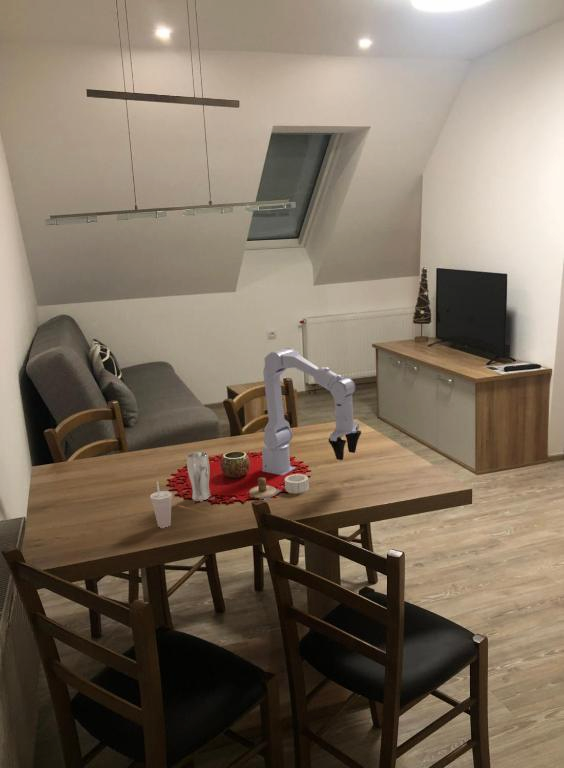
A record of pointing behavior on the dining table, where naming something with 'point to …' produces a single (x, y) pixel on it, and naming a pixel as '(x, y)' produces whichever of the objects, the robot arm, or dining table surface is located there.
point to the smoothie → (162, 507)
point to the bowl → (296, 483)
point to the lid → (262, 489)
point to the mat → (273, 495)
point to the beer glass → (199, 475)
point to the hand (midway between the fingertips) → (345, 455)
